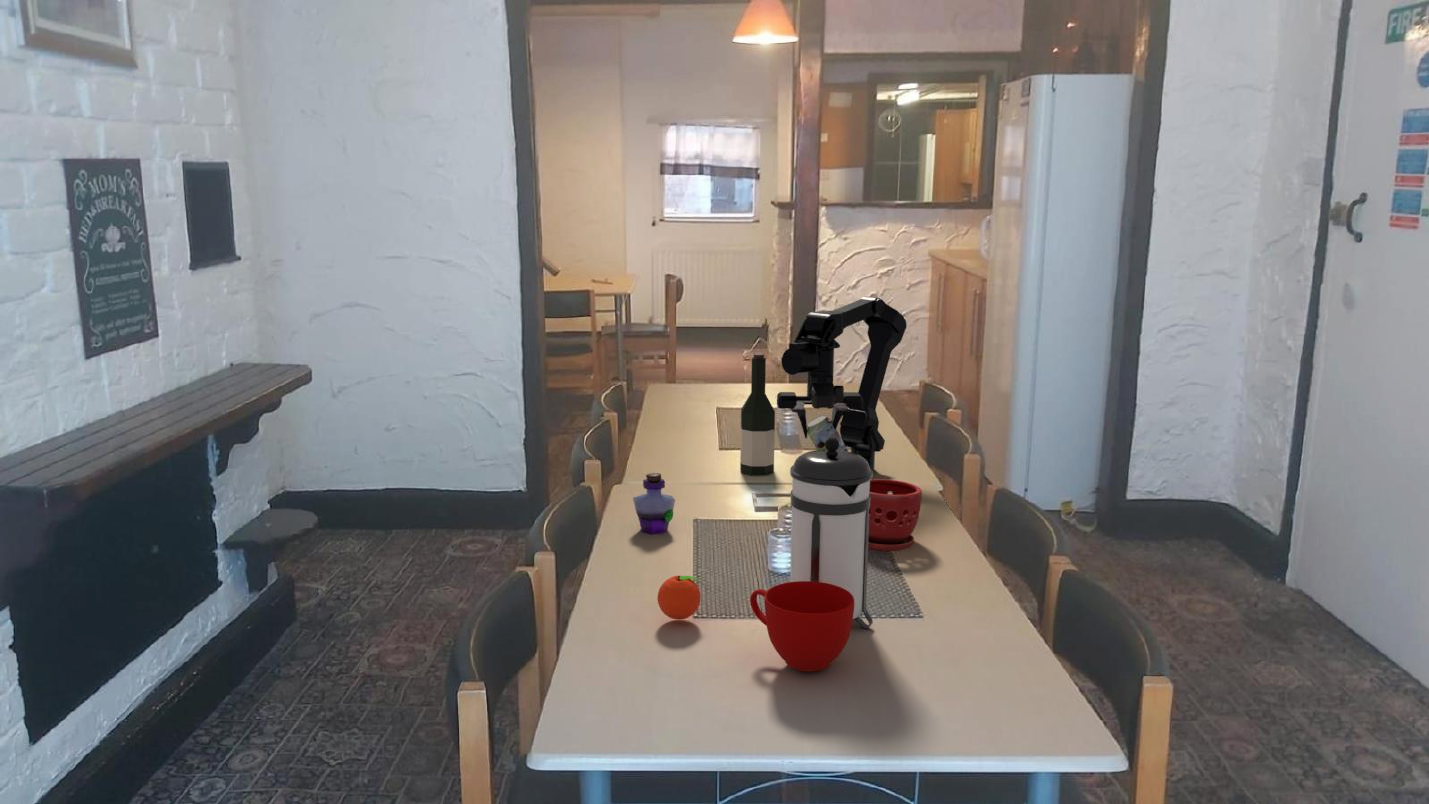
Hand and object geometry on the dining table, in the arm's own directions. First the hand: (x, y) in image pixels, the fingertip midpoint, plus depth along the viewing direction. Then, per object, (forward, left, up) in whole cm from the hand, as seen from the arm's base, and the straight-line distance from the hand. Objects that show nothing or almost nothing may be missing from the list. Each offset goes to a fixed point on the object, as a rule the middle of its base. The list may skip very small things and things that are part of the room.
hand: (818, 438), depth 242 cm
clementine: (+72, -30, -13) cm, 79 cm away
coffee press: (+72, -8, -13) cm, 73 cm away
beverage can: (0, +4, -7) cm, 8 cm away
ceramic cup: (+87, -13, -13) cm, 89 cm away
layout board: (+12, +1, -13) cm, 18 cm away
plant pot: (+36, +9, -13) cm, 39 cm away
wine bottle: (-12, -13, -13) cm, 22 cm away
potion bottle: (+28, -36, -13) cm, 47 cm away
